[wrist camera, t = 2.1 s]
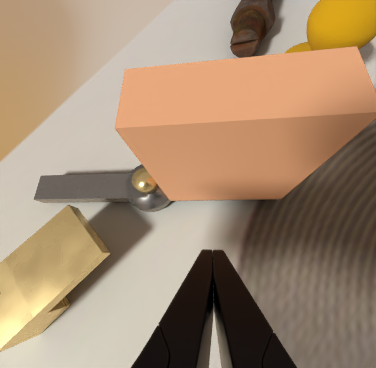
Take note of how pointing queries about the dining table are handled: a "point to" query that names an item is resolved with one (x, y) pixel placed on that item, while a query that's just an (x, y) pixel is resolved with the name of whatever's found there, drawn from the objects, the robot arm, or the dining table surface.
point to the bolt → (250, 26)
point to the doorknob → (339, 25)
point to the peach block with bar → (229, 128)
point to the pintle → (144, 182)
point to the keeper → (45, 275)
